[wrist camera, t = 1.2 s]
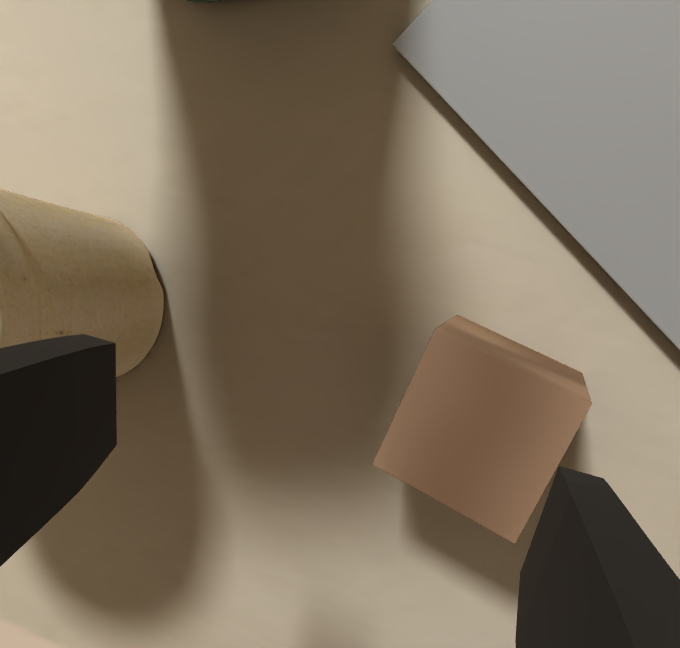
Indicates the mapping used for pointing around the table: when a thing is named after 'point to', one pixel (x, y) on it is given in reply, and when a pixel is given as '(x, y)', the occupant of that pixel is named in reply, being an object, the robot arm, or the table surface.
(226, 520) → the table surface
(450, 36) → the plate
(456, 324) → the walnut block
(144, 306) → the flower pot
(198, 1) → the coffee jar
